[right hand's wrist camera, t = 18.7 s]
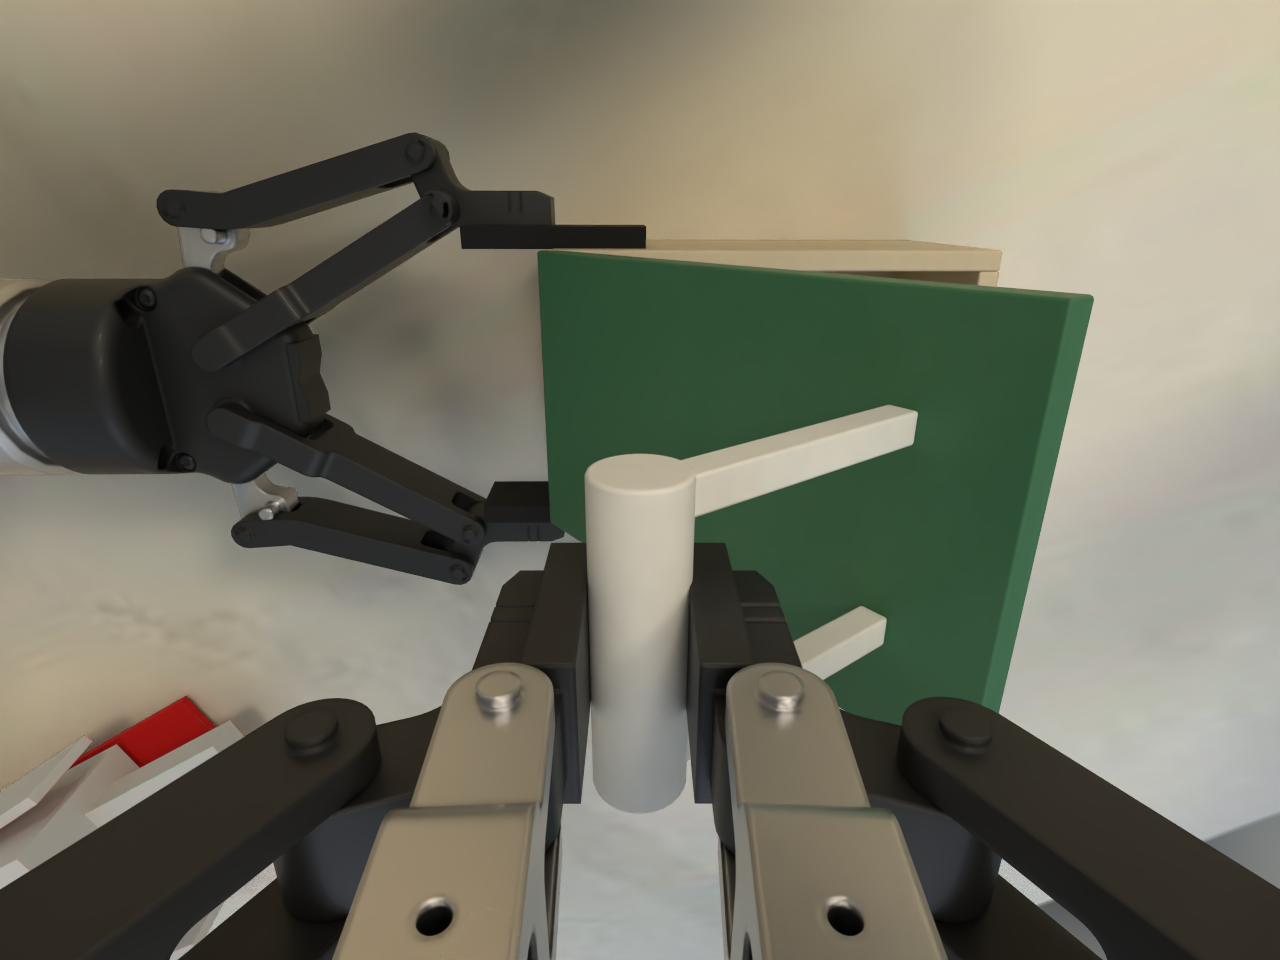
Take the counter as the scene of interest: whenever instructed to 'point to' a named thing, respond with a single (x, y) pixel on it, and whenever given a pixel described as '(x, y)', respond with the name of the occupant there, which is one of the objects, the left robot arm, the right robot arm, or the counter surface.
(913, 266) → the chest
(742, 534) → the lid
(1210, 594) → the counter surface
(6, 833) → the toy
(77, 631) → the counter surface
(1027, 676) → the counter surface
